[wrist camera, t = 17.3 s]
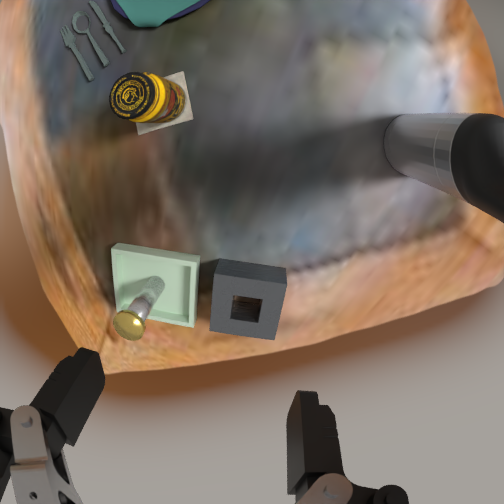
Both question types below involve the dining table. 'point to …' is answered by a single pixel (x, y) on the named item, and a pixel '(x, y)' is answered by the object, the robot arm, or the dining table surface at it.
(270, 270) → the socket block
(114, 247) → the tray
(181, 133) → the dining table surface
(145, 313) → the pin
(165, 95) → the condiment
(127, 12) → the cutlery set
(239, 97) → the dining table surface
